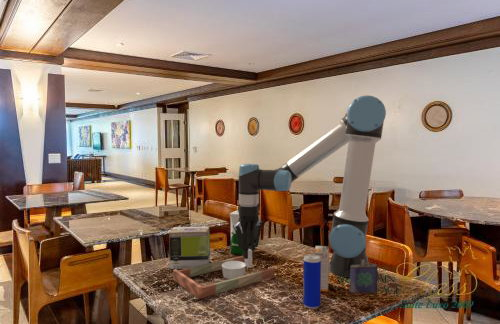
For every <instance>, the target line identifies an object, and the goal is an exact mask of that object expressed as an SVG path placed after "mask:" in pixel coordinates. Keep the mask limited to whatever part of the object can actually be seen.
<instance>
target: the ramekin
mask: <svg viewBox="0 0 500 324" xmlns="http://www.w3.org/2000/svg"><path fill="white" fill-rule="evenodd" d="M246 268H247V267H246V264H245V263H243V262H240V261H229V262H225V263H223V264H222V269H221V270H222V277H223V278H224V279H226V280H229V279H232V278H236V277H240V276H244V275H246Z"/></svg>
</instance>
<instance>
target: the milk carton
mask: <svg viewBox="0 0 500 324" xmlns="http://www.w3.org/2000/svg"><path fill="white" fill-rule="evenodd" d="M229 218H230V254H232V255H233V254H235V255H240V256H243V250H242V249H240V248H239V247H238V242H237V237H236V232H235V229H234V228H233V225H234V224H235V225H236V224H237V223H238V220H239V206H238V210H235V211H232V212H230V213H229ZM241 231H242V227H241ZM242 236H243V232H242Z"/></svg>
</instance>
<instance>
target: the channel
mask: <svg viewBox="0 0 500 324" xmlns="http://www.w3.org/2000/svg"><path fill="white" fill-rule="evenodd" d="M229 261H240V262H243V263H245V258H243V255H240V256H236V257H230V258H226V259H223V260H218V261H214V262H213V261H212V262H209V264H204V265H200V266H195V267H191V268H187V269H172V280H173V281H174V282H176V283H177V284H178V285H180V286H181V287H182V288H184V289H185V290H187V291H188V292H190V294H192V295H194V297H196V298H197V299H202V298H206V297H208V296H213V295H216V294H220V293H223V292H227V291H229V290H234V289H237V288H240V287H244V286H247V285H251V284H255V283H258V282H261V281H265V280H269V279H272V278H275V272H276V271H275V268H274V267H271V268H265V269H263V270H260V271H256V272H252V273H248V274H245V275H244V276H240V277H236V278H232V279H226V280H222V281H218V282H214V283H209V284H207V285H204V286H202V285H201V284H199V283H197V281H195V280H193V279H192V277H195V276H200V275H204V274H207V273H213V272H216V271H221V270H223V269H222V264H223V263H225V262H229Z"/></svg>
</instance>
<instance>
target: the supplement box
mask: <svg viewBox="0 0 500 324" xmlns="http://www.w3.org/2000/svg"><path fill="white" fill-rule="evenodd" d="M314 247H315V248H314V255H318V256H320V259H321V292H325V293H326V292H327V293H328V292H329V279H330V276H329V275H330V274H329V273H330V270H329V264H330V252H329V251H330V250H329V246H325V245H324V246H323V245H315V246H314Z"/></svg>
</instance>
